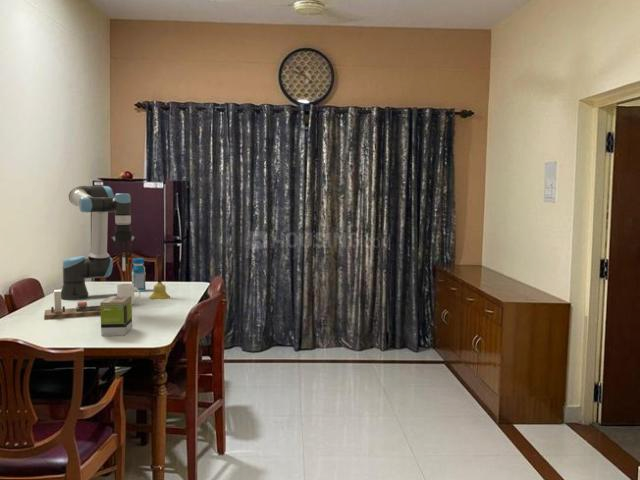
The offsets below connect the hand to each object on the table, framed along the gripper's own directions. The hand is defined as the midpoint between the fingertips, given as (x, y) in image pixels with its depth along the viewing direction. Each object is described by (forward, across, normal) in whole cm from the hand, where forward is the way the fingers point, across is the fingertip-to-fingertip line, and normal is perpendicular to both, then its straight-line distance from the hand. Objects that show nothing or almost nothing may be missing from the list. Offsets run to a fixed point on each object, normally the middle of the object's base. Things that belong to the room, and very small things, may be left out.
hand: (123, 270), depth 303 cm
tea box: (+22, -4, -47) cm, 52 cm away
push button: (+17, -20, -1) cm, 26 cm away
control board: (+21, -19, -1) cm, 28 cm away
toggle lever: (+18, -31, -2) cm, 36 cm away
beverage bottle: (+21, +9, +67) cm, 71 cm away
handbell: (+21, +20, +37) cm, 47 cm away
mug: (+21, +2, +20) cm, 29 cm away
